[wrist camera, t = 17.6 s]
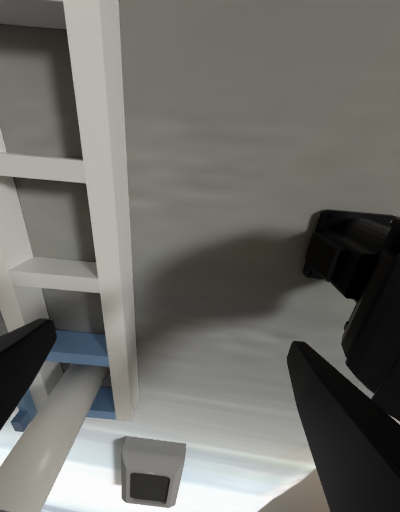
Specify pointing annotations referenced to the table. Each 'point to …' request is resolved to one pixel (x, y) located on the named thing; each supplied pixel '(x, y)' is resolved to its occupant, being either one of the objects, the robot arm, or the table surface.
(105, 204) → the white and blue ladder
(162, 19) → the table surface
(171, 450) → the gray box with screen
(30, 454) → the white capped cylinder
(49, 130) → the table surface
